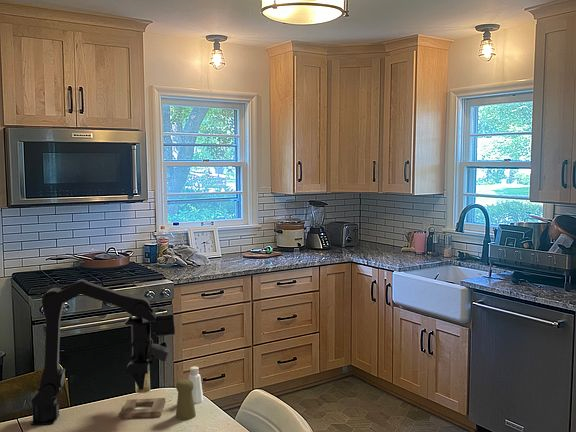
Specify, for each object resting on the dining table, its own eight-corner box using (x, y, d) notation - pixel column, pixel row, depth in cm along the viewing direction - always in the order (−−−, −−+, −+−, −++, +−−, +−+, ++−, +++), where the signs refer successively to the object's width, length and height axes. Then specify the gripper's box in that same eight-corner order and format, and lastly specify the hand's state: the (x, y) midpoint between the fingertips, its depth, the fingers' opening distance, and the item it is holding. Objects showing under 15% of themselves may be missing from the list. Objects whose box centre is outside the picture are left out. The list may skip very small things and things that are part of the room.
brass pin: (134, 393, 177) (133, 372, 177) (136, 388, 181) (136, 368, 181) (149, 392, 177) (148, 372, 177) (151, 387, 182) (150, 367, 181)
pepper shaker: (191, 420, 171) (190, 384, 171) (172, 419, 173) (171, 383, 172) (198, 412, 177) (197, 377, 177) (180, 411, 179) (179, 376, 178)
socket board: (120, 418, 174) (120, 413, 174) (127, 404, 185) (127, 399, 185) (160, 416, 175) (160, 411, 175) (165, 402, 186) (165, 397, 186)
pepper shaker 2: (183, 402, 186) (182, 368, 185) (193, 396, 191) (192, 363, 190) (196, 405, 183) (195, 371, 183) (206, 399, 188) (206, 366, 188)
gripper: (163, 345, 170) (165, 396, 171) (170, 328, 188) (172, 375, 189) (125, 346, 169) (126, 398, 170) (136, 330, 187) (137, 377, 188)
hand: (142, 386), depth 179 cm, fingers closed on brass pin, 4 cm apart
